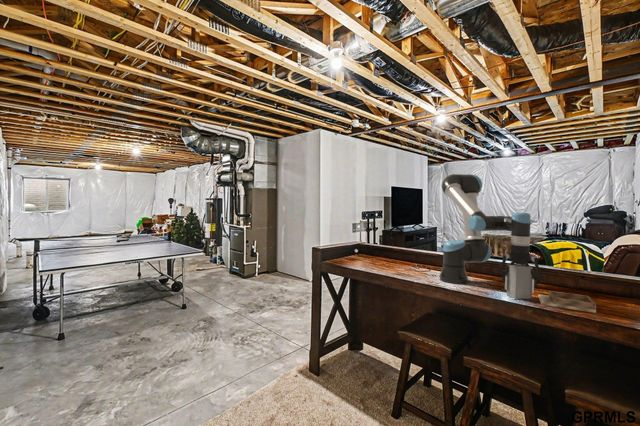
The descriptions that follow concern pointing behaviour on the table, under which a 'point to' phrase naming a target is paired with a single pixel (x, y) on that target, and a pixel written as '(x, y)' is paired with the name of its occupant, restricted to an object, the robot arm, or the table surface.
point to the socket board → (568, 301)
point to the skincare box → (519, 281)
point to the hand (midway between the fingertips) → (518, 290)
